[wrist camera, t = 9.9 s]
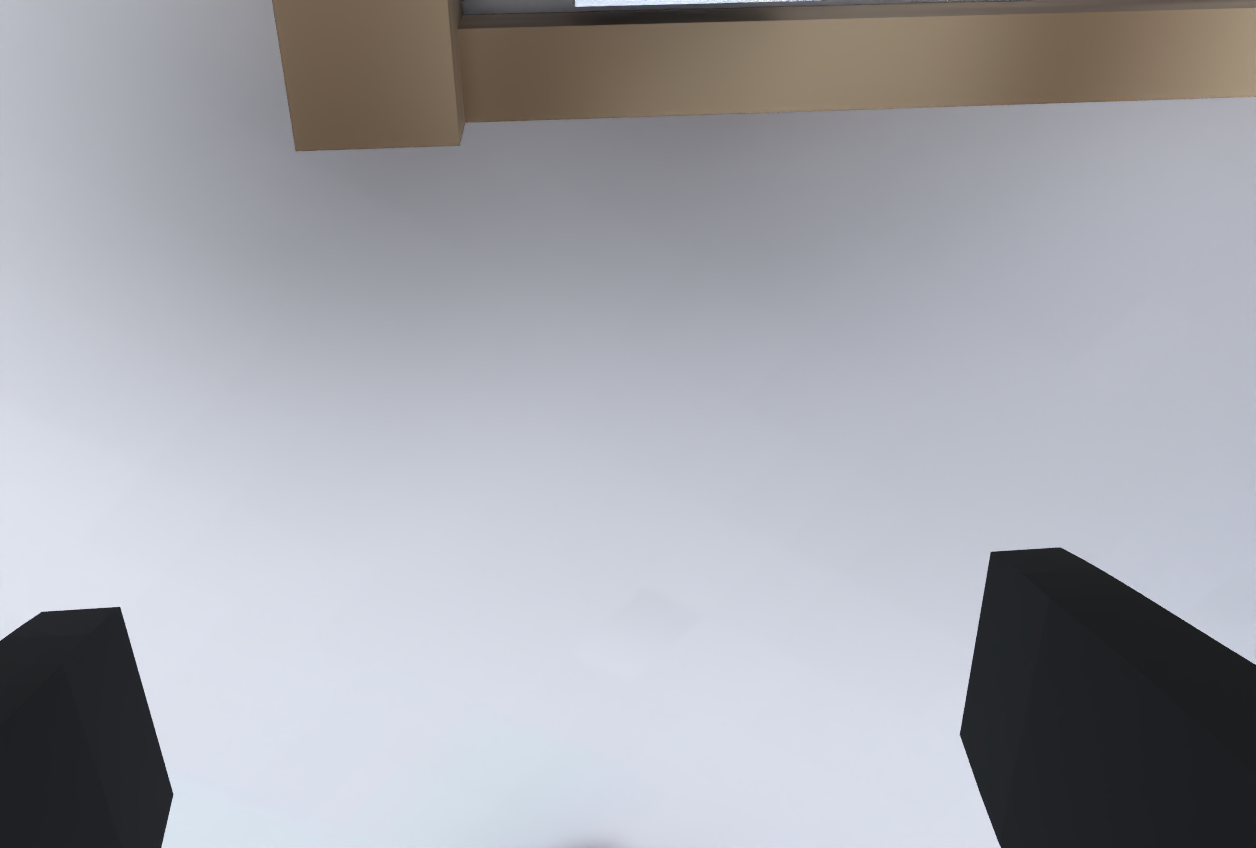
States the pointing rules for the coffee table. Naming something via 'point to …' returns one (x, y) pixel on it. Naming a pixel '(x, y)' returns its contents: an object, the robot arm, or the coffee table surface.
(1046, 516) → the coffee table surface
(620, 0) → the block
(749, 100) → the vise frame
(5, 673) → the robot arm
